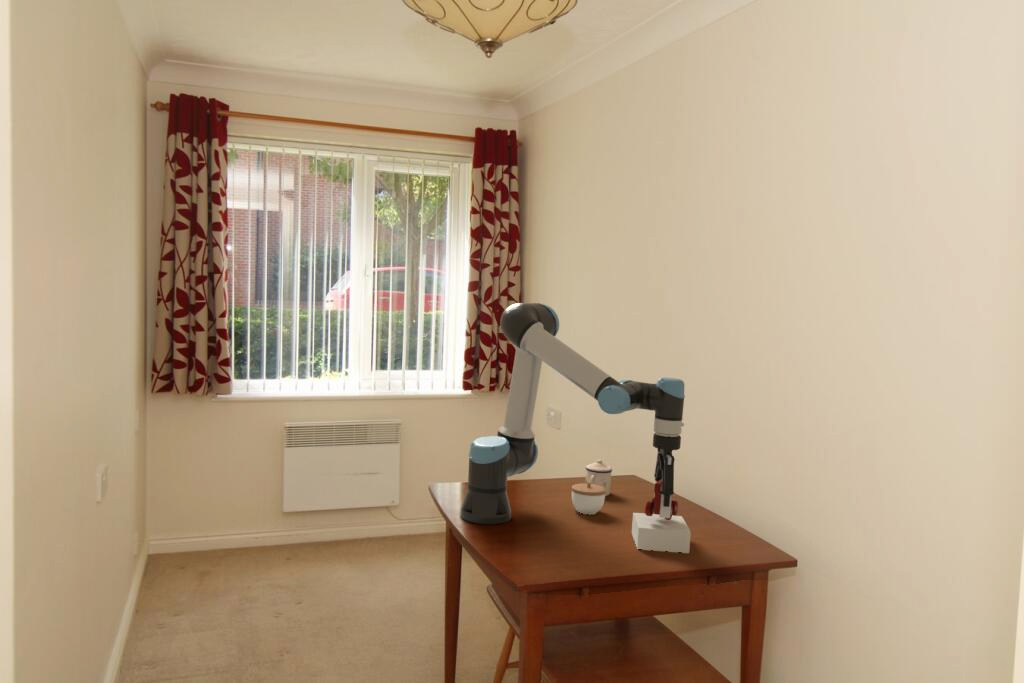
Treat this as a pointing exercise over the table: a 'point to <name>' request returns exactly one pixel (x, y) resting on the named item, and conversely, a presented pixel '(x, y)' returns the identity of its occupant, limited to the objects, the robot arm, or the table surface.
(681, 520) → the cream white block
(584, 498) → the lidded jar
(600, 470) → the teacup with lid
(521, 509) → the table surface
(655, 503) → the toy fire truck
